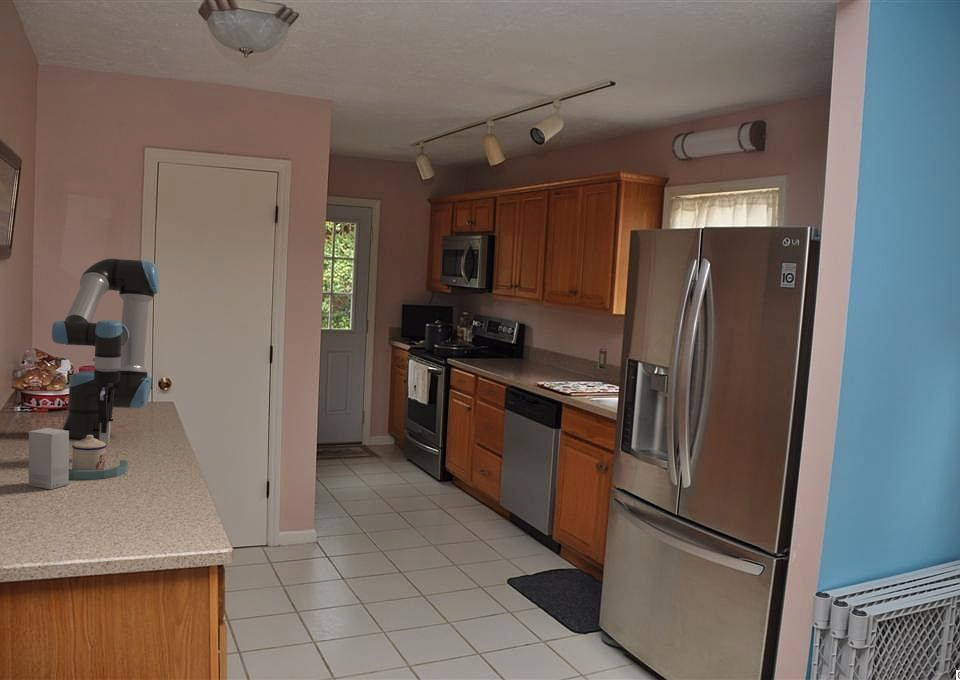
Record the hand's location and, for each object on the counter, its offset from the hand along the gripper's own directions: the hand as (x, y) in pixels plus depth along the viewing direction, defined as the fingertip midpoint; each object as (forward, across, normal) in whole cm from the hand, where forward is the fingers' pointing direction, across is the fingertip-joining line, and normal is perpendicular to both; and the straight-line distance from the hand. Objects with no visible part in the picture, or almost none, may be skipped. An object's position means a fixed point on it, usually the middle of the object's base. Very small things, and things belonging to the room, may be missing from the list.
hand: (104, 442), depth 253 cm
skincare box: (+5, +33, -7) cm, 34 cm away
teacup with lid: (+5, +18, 0) cm, 19 cm away
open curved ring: (+5, +19, 0) cm, 19 cm away
